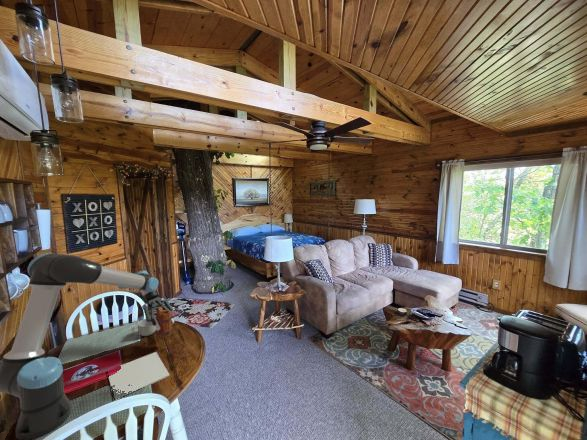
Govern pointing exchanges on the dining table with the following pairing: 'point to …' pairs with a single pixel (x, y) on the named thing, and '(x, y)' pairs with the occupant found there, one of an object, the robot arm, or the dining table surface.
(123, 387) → the placemat
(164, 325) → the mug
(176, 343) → the dining table surface
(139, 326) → the teacup
